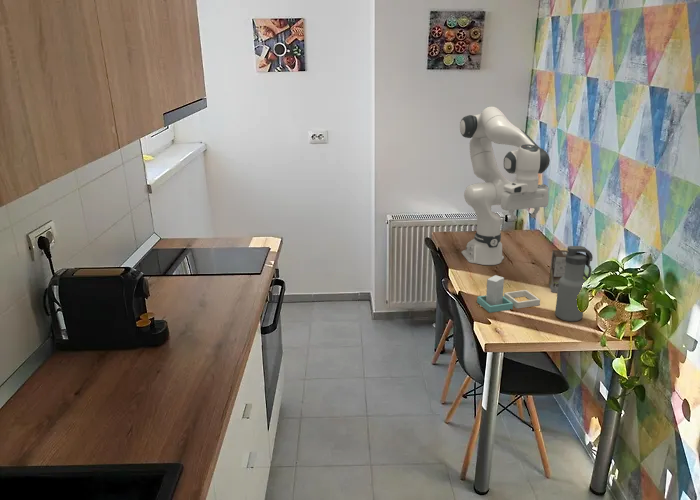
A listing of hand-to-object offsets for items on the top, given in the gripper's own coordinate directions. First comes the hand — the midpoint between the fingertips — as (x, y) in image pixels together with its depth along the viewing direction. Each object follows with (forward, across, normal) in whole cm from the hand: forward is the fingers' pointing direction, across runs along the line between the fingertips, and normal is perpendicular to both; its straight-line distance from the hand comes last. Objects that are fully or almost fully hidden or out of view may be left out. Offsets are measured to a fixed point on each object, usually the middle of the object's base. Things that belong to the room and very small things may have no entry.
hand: (523, 218), depth 222 cm
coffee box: (+31, -16, +6) cm, 36 cm away
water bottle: (+31, -4, +30) cm, 44 cm away
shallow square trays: (+31, +12, +13) cm, 36 cm away
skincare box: (+31, +18, +13) cm, 39 cm away
